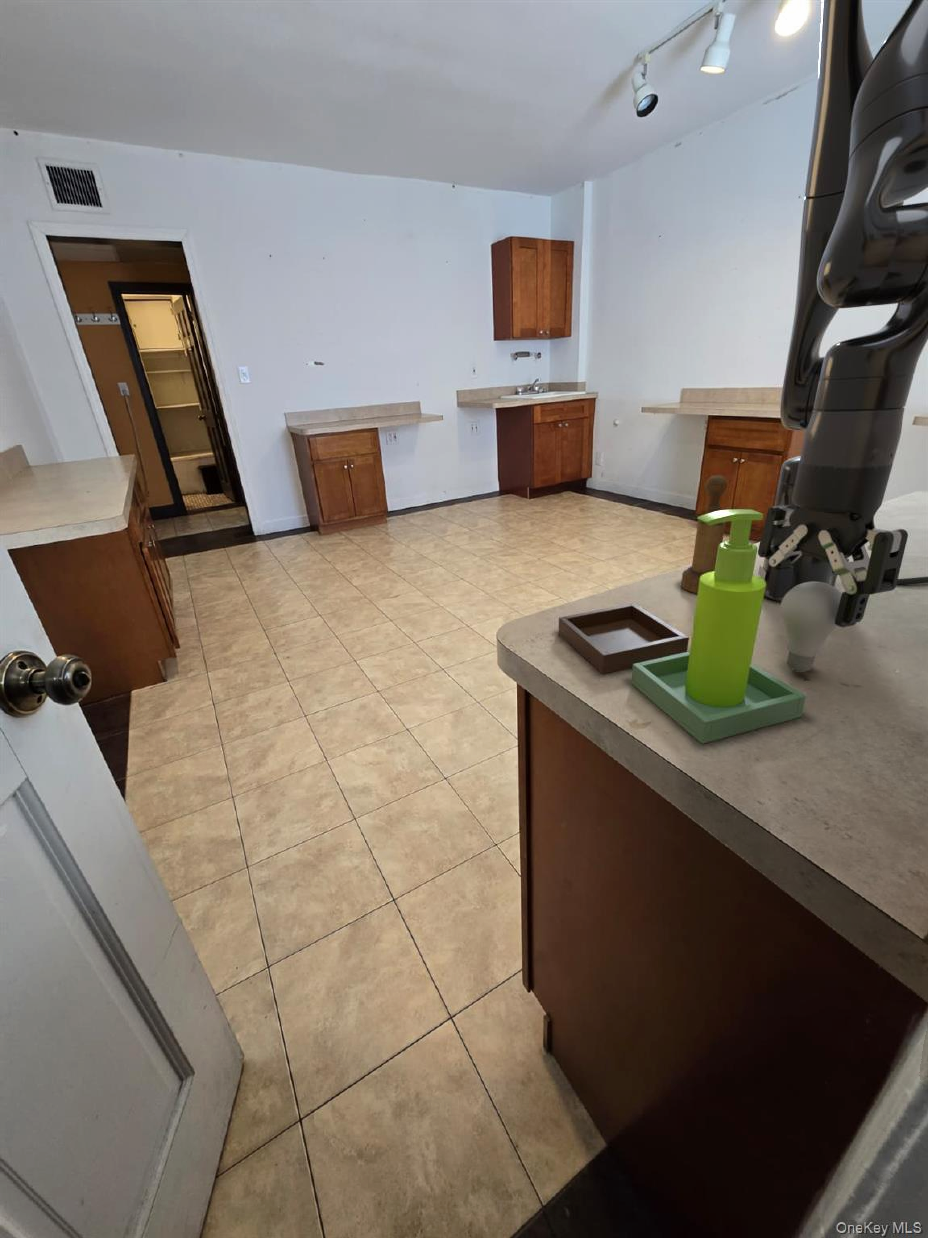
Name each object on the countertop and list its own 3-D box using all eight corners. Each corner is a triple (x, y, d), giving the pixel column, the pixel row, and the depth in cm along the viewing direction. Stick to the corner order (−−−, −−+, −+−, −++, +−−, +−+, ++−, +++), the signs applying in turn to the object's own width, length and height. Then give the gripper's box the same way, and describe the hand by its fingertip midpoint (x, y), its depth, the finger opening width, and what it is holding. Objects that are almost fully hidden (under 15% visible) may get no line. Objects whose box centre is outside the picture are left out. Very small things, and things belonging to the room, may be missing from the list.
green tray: (717, 663, 63) (720, 644, 62) (801, 717, 52) (806, 695, 51) (631, 683, 60) (632, 663, 59) (701, 744, 49) (705, 722, 48)
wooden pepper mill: (728, 595, 81) (747, 479, 74) (684, 594, 82) (698, 480, 75) (718, 580, 87) (734, 471, 79) (677, 579, 88) (690, 473, 81)
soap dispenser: (666, 681, 59) (687, 507, 50) (725, 675, 59) (755, 501, 51) (691, 711, 53) (719, 521, 45) (755, 704, 54) (794, 515, 45)
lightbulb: (821, 661, 62) (843, 575, 57) (836, 688, 56) (862, 595, 52) (763, 655, 64) (781, 572, 59) (773, 681, 58) (792, 591, 54)
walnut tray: (632, 619, 75) (633, 602, 74) (686, 655, 65) (689, 637, 64) (558, 633, 73) (558, 617, 72) (602, 674, 62) (603, 655, 61)
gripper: (955, 462, 45) (900, 630, 51) (812, 448, 57) (783, 584, 64) (889, 470, 43) (841, 643, 50) (756, 454, 56) (733, 593, 62)
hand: (808, 610), depth 57 cm, fingers open, 8 cm apart
